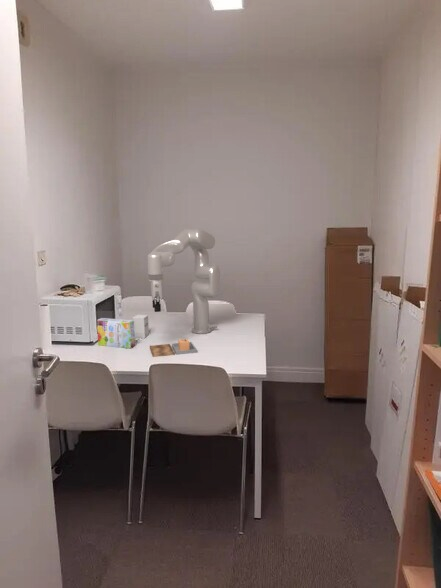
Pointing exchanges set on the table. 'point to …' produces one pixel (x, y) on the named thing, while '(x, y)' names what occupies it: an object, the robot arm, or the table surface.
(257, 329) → the table surface
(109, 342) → the snack box
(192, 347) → the grey tray
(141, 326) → the supplement box
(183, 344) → the letter cube
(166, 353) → the wooden tray
